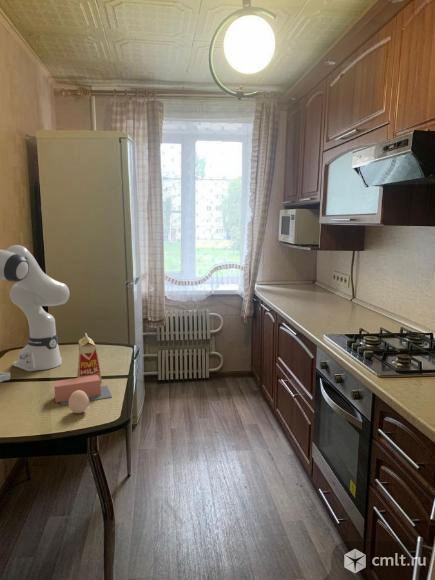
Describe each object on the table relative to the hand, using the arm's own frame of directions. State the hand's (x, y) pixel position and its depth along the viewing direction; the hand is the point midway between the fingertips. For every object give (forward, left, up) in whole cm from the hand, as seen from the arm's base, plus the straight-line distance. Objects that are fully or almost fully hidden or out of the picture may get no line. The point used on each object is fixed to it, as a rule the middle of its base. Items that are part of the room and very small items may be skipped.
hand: (10, 375), depth 144 cm
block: (+9, +11, -8) cm, 16 cm away
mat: (+16, +19, -12) cm, 27 cm away
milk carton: (+7, +31, -12) cm, 34 cm away
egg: (+25, +7, -12) cm, 28 cm away
